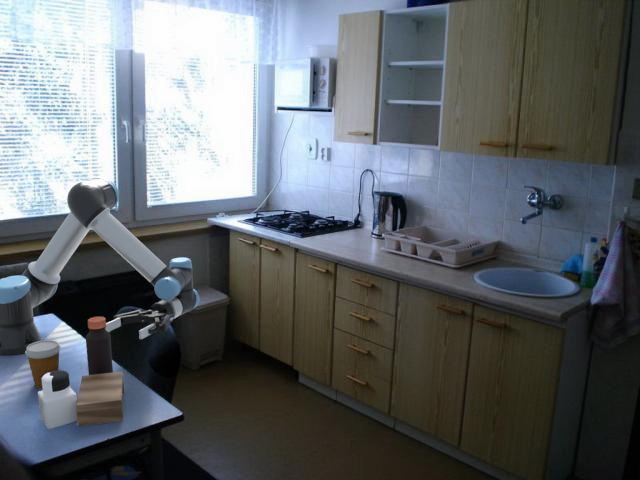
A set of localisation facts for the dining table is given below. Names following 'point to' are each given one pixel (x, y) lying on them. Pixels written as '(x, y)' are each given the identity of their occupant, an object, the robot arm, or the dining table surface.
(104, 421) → the wooden block
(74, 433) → the dining table surface
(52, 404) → the container
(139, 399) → the dining table surface
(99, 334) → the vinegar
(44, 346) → the disposable coffee cup
